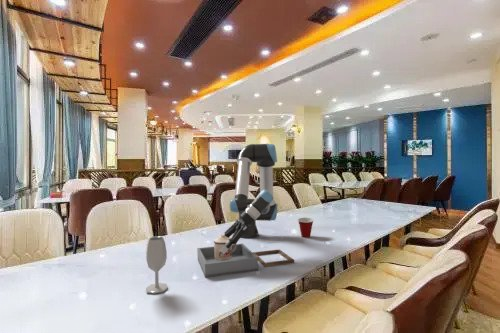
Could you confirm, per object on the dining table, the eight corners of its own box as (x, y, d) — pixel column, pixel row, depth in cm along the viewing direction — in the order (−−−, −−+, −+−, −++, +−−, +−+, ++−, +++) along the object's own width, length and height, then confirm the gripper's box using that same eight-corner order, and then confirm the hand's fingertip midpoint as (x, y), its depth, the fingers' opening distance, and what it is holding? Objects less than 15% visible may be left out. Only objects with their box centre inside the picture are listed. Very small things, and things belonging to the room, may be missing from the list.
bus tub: (197, 259, 153) (197, 248, 153) (242, 254, 161) (242, 243, 160) (205, 277, 129) (204, 264, 129) (257, 270, 137) (257, 257, 137)
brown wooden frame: (252, 255, 159) (252, 252, 159) (279, 251, 164) (279, 249, 164) (263, 266, 141) (263, 263, 141) (294, 262, 146) (294, 259, 146)
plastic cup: (296, 238, 193) (295, 220, 192) (299, 234, 203) (299, 217, 202) (312, 239, 189) (312, 221, 188) (315, 235, 199) (315, 218, 198)
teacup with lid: (218, 262, 138) (218, 238, 138) (211, 257, 146) (210, 234, 146) (240, 257, 144) (240, 234, 144) (232, 253, 152) (231, 230, 152)
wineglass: (148, 285, 122) (147, 235, 121) (169, 284, 122) (169, 235, 122) (142, 295, 113) (141, 241, 112) (165, 293, 114) (164, 240, 113)
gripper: (238, 207, 158) (210, 239, 153) (251, 214, 137) (218, 251, 133) (248, 216, 159) (220, 248, 155) (262, 224, 139) (230, 261, 134)
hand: (219, 249), depth 144 cm, fingers closed on teacup with lid, 9 cm apart
